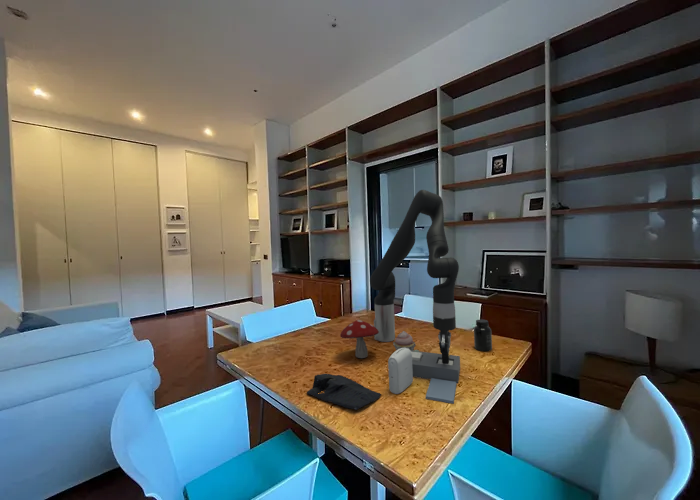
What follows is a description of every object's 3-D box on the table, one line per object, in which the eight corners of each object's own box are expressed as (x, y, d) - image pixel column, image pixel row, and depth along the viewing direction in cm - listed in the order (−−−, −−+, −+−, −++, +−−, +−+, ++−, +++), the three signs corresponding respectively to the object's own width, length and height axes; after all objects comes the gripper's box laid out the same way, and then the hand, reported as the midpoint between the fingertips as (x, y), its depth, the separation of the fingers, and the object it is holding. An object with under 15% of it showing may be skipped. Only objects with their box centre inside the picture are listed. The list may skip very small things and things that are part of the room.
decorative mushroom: (334, 360, 119) (332, 324, 118) (352, 346, 133) (350, 314, 132) (370, 367, 111) (368, 328, 110) (385, 351, 125) (383, 317, 124)
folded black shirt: (352, 420, 80) (351, 403, 80) (302, 394, 95) (302, 379, 95) (385, 396, 91) (385, 381, 91) (336, 376, 106) (335, 363, 106)
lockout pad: (425, 398, 88) (425, 396, 88) (431, 380, 99) (431, 378, 99) (453, 403, 85) (453, 401, 85) (456, 384, 96) (456, 381, 96)
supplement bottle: (488, 345, 127) (487, 318, 127) (494, 351, 120) (494, 323, 120) (472, 345, 128) (471, 318, 127) (477, 352, 121) (476, 323, 120)
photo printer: (399, 396, 90) (397, 356, 90) (387, 391, 93) (385, 353, 93) (414, 382, 98) (413, 346, 98) (403, 378, 101) (402, 343, 100)
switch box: (398, 374, 104) (397, 360, 104) (406, 361, 115) (405, 347, 115) (458, 383, 96) (457, 367, 96) (460, 368, 107) (459, 353, 107)
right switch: (437, 371, 102) (437, 364, 102) (439, 365, 107) (438, 359, 107) (452, 373, 100) (452, 366, 100) (453, 367, 105) (453, 361, 105)
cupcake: (410, 349, 127) (410, 326, 126) (419, 357, 118) (418, 333, 117) (390, 351, 125) (389, 328, 125) (397, 360, 116) (396, 335, 116)
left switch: (405, 362, 106) (405, 356, 106) (408, 357, 111) (408, 351, 111) (419, 364, 104) (419, 358, 104) (422, 358, 109) (422, 352, 109)
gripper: (435, 309, 110) (437, 354, 111) (430, 318, 98) (432, 369, 99) (456, 310, 107) (458, 357, 108) (453, 320, 95) (455, 372, 96)
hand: (445, 362), depth 103 cm, fingers closed
